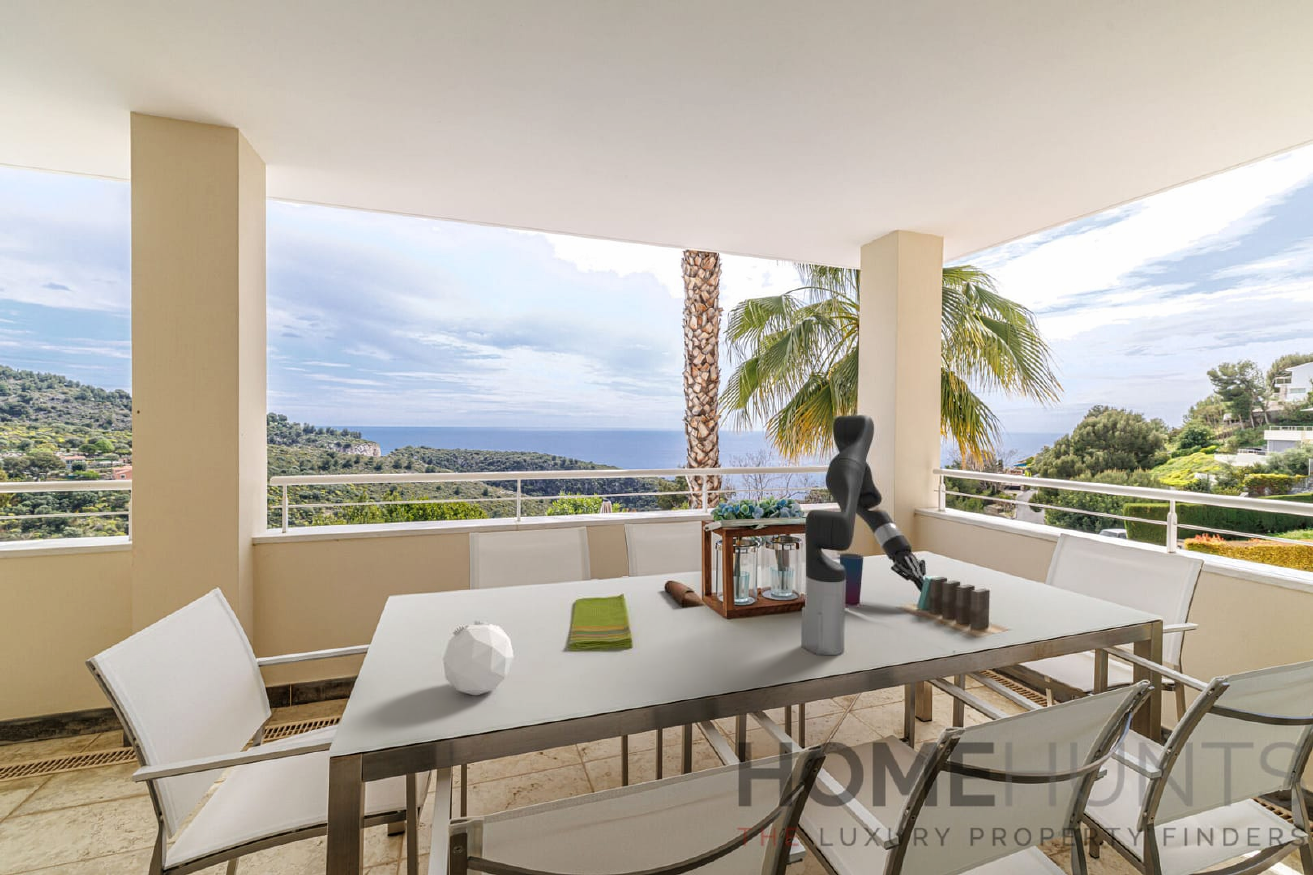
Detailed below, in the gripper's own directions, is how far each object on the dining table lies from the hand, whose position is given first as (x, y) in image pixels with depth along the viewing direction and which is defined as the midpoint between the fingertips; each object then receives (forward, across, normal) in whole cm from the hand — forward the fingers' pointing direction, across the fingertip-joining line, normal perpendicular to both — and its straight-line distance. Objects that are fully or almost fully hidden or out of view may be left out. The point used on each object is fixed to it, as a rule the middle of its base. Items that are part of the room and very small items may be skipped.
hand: (925, 590), depth 161 cm
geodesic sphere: (+3, -125, +7) cm, 125 cm away
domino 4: (+12, 0, -5) cm, 13 cm away
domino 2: (+6, 0, +1) cm, 7 cm away
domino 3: (+10, 0, -2) cm, 10 cm away
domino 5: (+16, 0, -8) cm, 17 cm away
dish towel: (-15, -90, +25) cm, 95 cm away
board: (+10, 0, -1) cm, 10 cm away
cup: (-5, -16, +14) cm, 22 cm away
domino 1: (+4, 0, +4) cm, 5 cm away
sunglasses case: (-23, -59, +32) cm, 71 cm away
